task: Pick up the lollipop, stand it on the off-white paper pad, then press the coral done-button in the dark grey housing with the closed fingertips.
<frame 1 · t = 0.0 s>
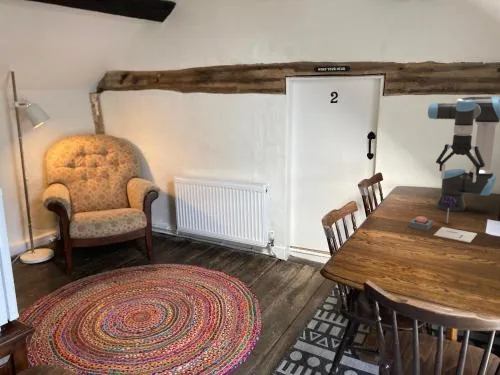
hand: (457, 180, 187), 28 cm above the table, fingers open, 13 cm apart
done button: (421, 220, 207), point 4 cm above the table, slide at 0.0 cm
button housing: (420, 226, 208), on the table
lollipop: (447, 223, 213), on the table
paper pad: (455, 234, 196), on the table
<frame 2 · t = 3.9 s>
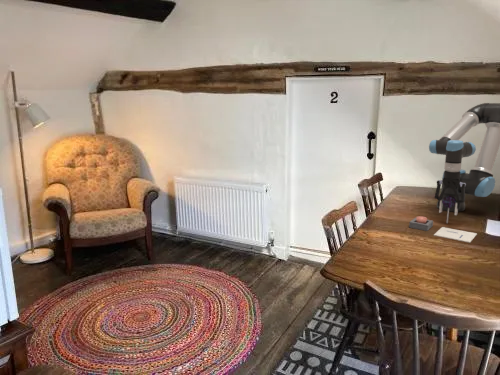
hand: (448, 213, 211), 6 cm above the table, fingers closed on lollipop, 7 cm apart
lollipop: (447, 223, 213), on the table, touching gripper
everything else where it was.
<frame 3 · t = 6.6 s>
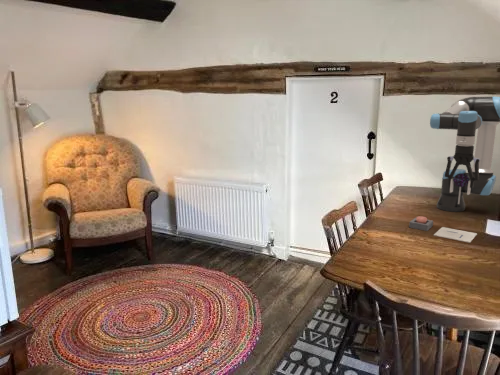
hand: (459, 192, 191), 21 cm above the table, fingers closed on lollipop, 7 cm apart
lollipop: (458, 204, 192), point 16 cm above the table, touching gripper
everything else where it was.
when the fingers open (7 cm above the table, at t = 9.8 s): lollipop drops 1 cm, resting on paper pad.
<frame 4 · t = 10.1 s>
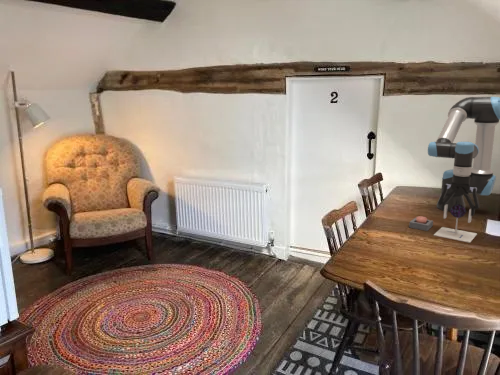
hand: (457, 219, 194), 8 cm above the table, fingers open, 10 cm apart
lollipop: (455, 234, 196), resting on paper pad
everything else where it was.
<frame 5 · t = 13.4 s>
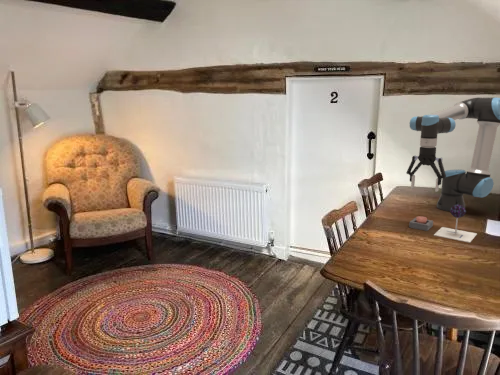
hand: (424, 189, 203), 20 cm above the table, fingers open, 11 cm apart
nothing on the table moved.
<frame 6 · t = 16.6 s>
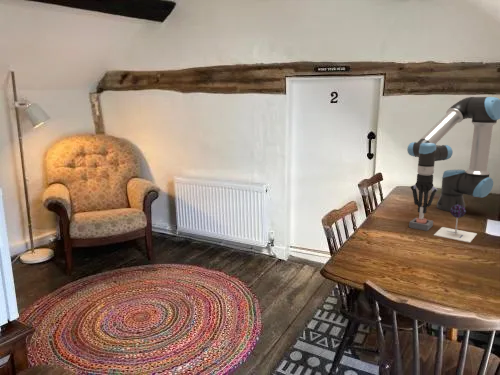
hand: (421, 218, 207), 5 cm above the table, fingers closed
done button: (421, 221, 207), point 3 cm above the table, slide at 0.7 cm, touching gripper
everything else where it was.
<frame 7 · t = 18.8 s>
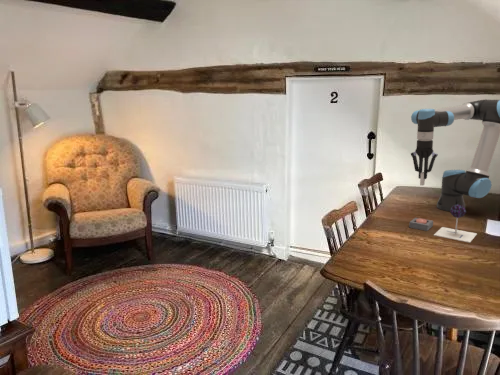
hand: (422, 184, 209), 21 cm above the table, fingers closed
done button: (421, 222, 208), point 2 cm above the table, slide at 1.2 cm
everything else where it was.
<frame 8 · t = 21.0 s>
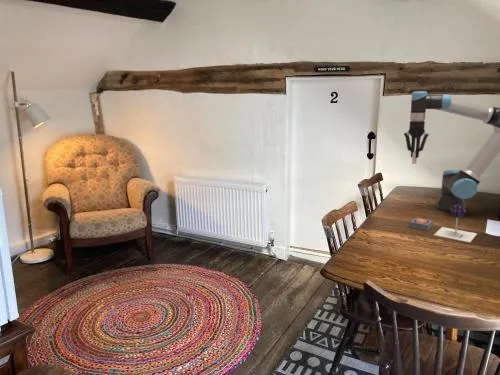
hand: (414, 163, 223), 29 cm above the table, fingers closed
nothing on the table moved.
at the end: lollipop inside the target area on the paper pad (0.0 cm from its centre), point 0.2 cm above the paper pad's base; lollipop tilted 0°; lollipop touching paper pad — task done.
